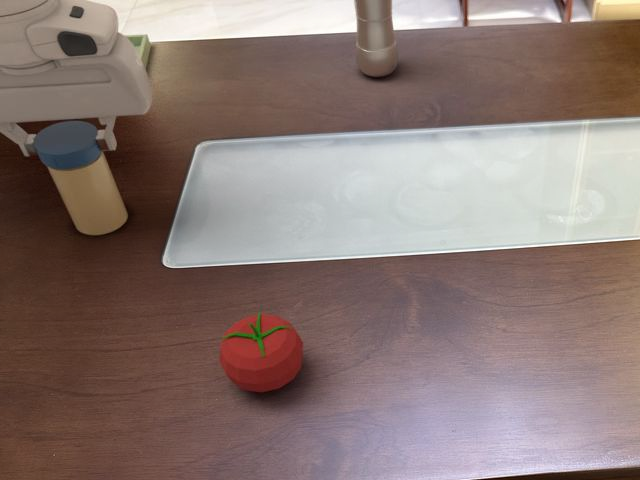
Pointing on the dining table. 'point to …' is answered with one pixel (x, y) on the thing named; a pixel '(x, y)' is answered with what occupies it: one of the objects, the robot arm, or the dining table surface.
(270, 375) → the tomato
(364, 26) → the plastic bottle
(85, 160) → the jar lid
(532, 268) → the dining table surface
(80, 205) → the jam jar
